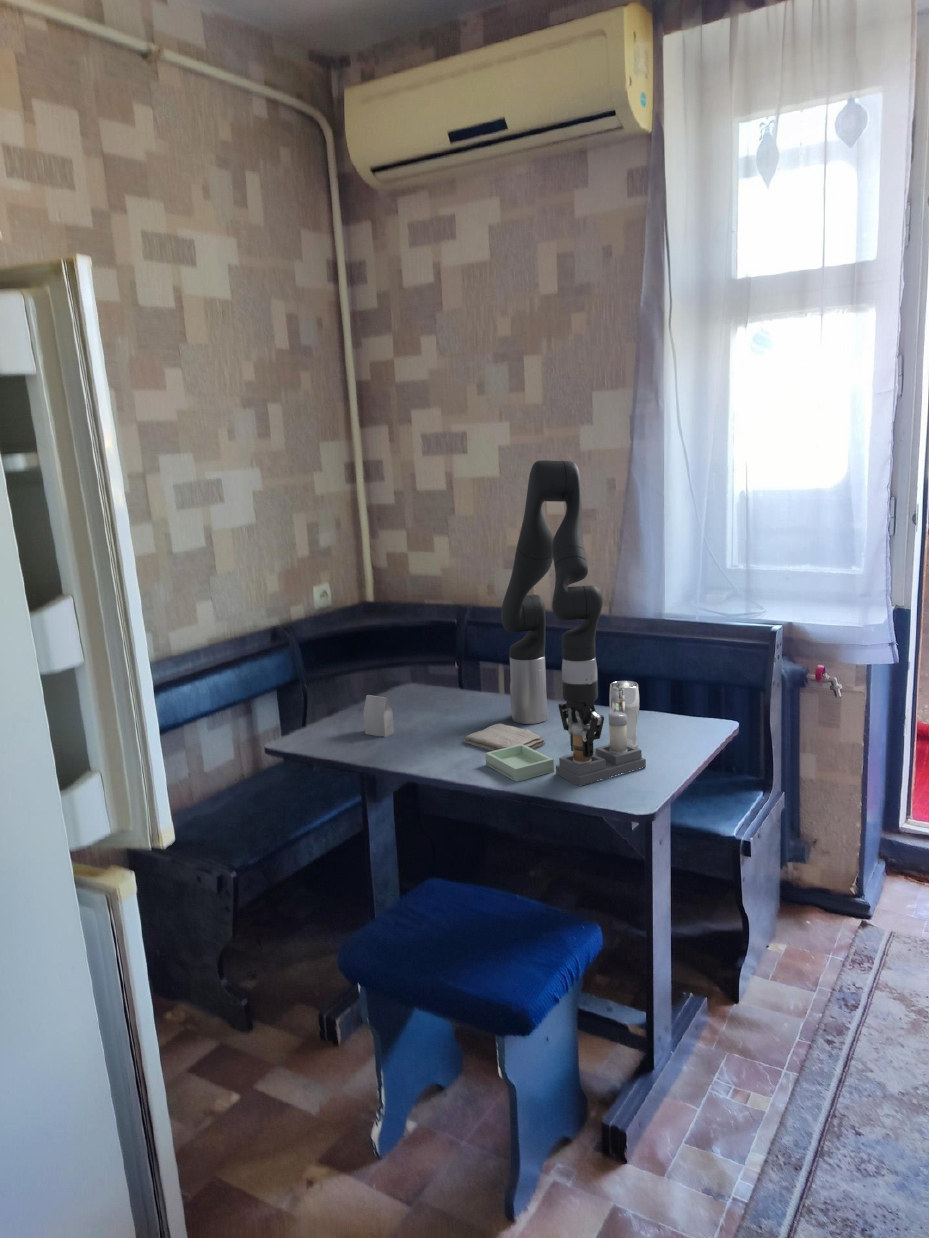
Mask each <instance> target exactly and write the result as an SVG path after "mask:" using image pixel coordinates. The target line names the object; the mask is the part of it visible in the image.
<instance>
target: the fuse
mask: <svg viewBox="0 0 929 1238" xmlns="http://www.w3.org/2000/svg"><path fill="white" fill-rule="evenodd" d="M626 724H627V714H625V713H622V712H613V713H611V712H609V713H608V730H609V735H608V736H609V744H610V749H609V752H611V753H614V754H616V755H617V754H621V753H625V752H628V751H627V726H626Z"/></svg>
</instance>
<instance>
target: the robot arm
mask: <svg viewBox="0 0 929 1238" xmlns="http://www.w3.org/2000/svg"><path fill="white" fill-rule="evenodd" d="M544 502H556V503H557V502H559V503H560V502H561V503H562V502H563V503H565V506H566V511H565V514H564V517H563V519H562V521H561V523H560V524H559V526H558V528H557V531H556V533H555V534H554V533H553V531H552V529H551V527H550V525H549V523H548V522H547V520H546V518H545V516H544V514H543V511H542V506H543V504H544ZM582 505H583V504H582V481H581V474H580V470H579V468H578V465H577V464H576V462H574V461H570V460H547V459H545V460H543V459H542V460H536V461H535V462H534V463H533V464H532V466H531V469H530V471H529V477H528V482H527V491H526V499H525V507H524V514H523V519H522V523H521V524H522V525H521V527H520V532H519V536H518V540H517V544H516V548H515V554H514V561H513V566H512V571H511V576H510V579H509V583H508V586H507V588H506V591H505V595H504V598H503V601H502V605H501V613H500V619H501V624H502V625H501V626H502V627H503V629H504V630H505V631H506V632H508V633H522V632H527V633H526V634H525V636H523V638H521V639H519V640H518V641H516V642H513V644H511V645H510V647H509V669H510V683H509V695H510V698H509V699H510V717H511V718H512V721H513V722H515V723H518V724H522V725H525V724H526V725H534V724H540V723H544V722H545V721H547V719H548V700H547V699H548V698H547V678H546V677H547V675H546V673H547V672H546V653H545V649H546V620H547V617H546V606H545V602H544V600H543V598H542V597H541V596H540V594H528V593H529V592H530V591H531V590H532V589H533V588H534V587H535V586H536V585H537V584H538V583H539V582H540V581H541V580H542V579H543V578H544V577H545V576H546V575H547V574H548V572H549V571H550V568H551V566H552V564H554V565H553V566H554V571H555V572H554V574H555V575H554V576H555V579H554V580H555V582H554V591H553V596H552V601H551V604H552V605H551V609H552V611H553V614H554V616H555V617H556V618H557V619H558V620H560V621H573V620H577V621H578V620H583V621H582V624H581V625H579V626H577V627H575V628H574V627H573V628H572V629H569V630H566V631H564V632H563V634H562V636H561V647H562V648H561V651H562V652H561V653H562V662H561V663H562V664H561V679H562V680H561V683H562V688H561V689H562V699H563V700H564V701H566V702H561V703H559V704H558V709H559V713H560V718H561V723H562V727H563V730H564V731H566V732H568V735H569V740H570V741H569V742H570V745H569V746H570V751H572V752H573V734H572V723H573V722H574V723H578V726H579V730H580V731H581V732H582V737H583V756H584V757H586V758H587V757H591V756H593V754H594V750H595V749H594V741H596V740H600V738H601V735H602V730H603V726H604V721H605V716H604V715H603V714H601V715H599V714H598V713H597V712H596V708H595V702H596V700H597V699H598V697H599V696H598V695H599V692H598V691H599V690H598V689H599V687H598V665H597V660H596V657H597V656H596V637H597V636H596V634H597V629H598V624H599V620H600V617H601V613H602V608H603V602H604V601H603V600H604V599H603V595H602V592H601V590H600V589H599V588H598V587H597V586H595V585H577V586H570V585H573V584H576V583H578V582H580V581H582V580H584V579H586V577H587V576H588V574H589V569H588V568H589V567H588V566H589V565H588V561H587V555H586V549H585V544H584V539H583V538H584V537H583V511H582V510H583V507H582ZM586 724H589V726H586V727H584V725H586ZM587 730H589V733H588V735H587Z"/></svg>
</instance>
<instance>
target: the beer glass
mask: <svg viewBox="0 0 929 1238" xmlns="http://www.w3.org/2000/svg"><path fill="white" fill-rule="evenodd" d="M609 685H610V686H609V708H610V709H609V710H610V713H613V712H622V713H625V714H627V724H626V726H627V744H628V745H631V746H633V747H635V748H638V745H639V740H638V736H637V735H638V734H637V725H638V718H639V712H640V691H639V684H638V683H637V682H636V681H632V680H619V681H613V682H611V683H610V684H609Z"/></svg>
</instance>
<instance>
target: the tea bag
mask: <svg viewBox="0 0 929 1238" xmlns="http://www.w3.org/2000/svg"><path fill="white" fill-rule="evenodd" d="M362 711H363V712H362V713H363V715H362V716H363V723H364V726H363V727H364V734H365V735H370V736H375V737H381V736H384V737H383V738H387V737H389V736H391V735H393V734H395V728H394V727H395V726H394V718H393V717H394V715H393V714H394V713H393V709H392V706H391V705H390V702H389V698H388V697H384V696H378V695H372V694H371V695H370V694H367V695H365V703H364V707H363V710H362ZM386 736H387V737H386Z"/></svg>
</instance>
